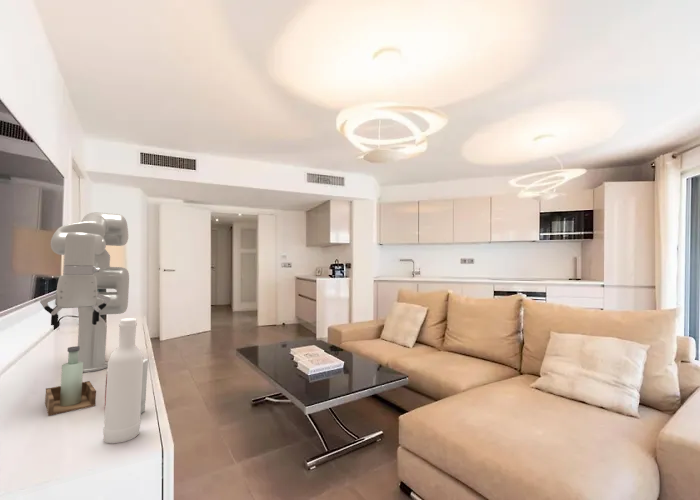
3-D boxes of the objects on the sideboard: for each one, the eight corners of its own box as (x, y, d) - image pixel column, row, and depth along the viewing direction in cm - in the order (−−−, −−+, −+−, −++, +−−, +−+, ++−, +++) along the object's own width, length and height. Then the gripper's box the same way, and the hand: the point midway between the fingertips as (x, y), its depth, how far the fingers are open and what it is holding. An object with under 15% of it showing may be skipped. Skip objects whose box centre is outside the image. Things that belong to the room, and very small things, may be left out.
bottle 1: (58, 402, 107) (62, 347, 108) (79, 398, 111) (82, 344, 112) (60, 407, 103) (64, 350, 104) (82, 403, 107) (85, 347, 108)
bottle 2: (121, 445, 84) (128, 322, 86) (94, 441, 86) (102, 320, 87) (146, 430, 92) (152, 317, 93) (122, 427, 94) (128, 316, 95)
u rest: (44, 403, 108) (45, 388, 108) (88, 394, 115) (89, 381, 116) (48, 416, 99) (49, 399, 99) (95, 405, 107) (96, 390, 107)
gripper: (109, 271, 118) (106, 321, 117) (41, 270, 105) (37, 327, 105) (113, 272, 112) (110, 324, 112) (43, 271, 100) (39, 331, 100)
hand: (75, 325), depth 108 cm, fingers open, 9 cm apart
